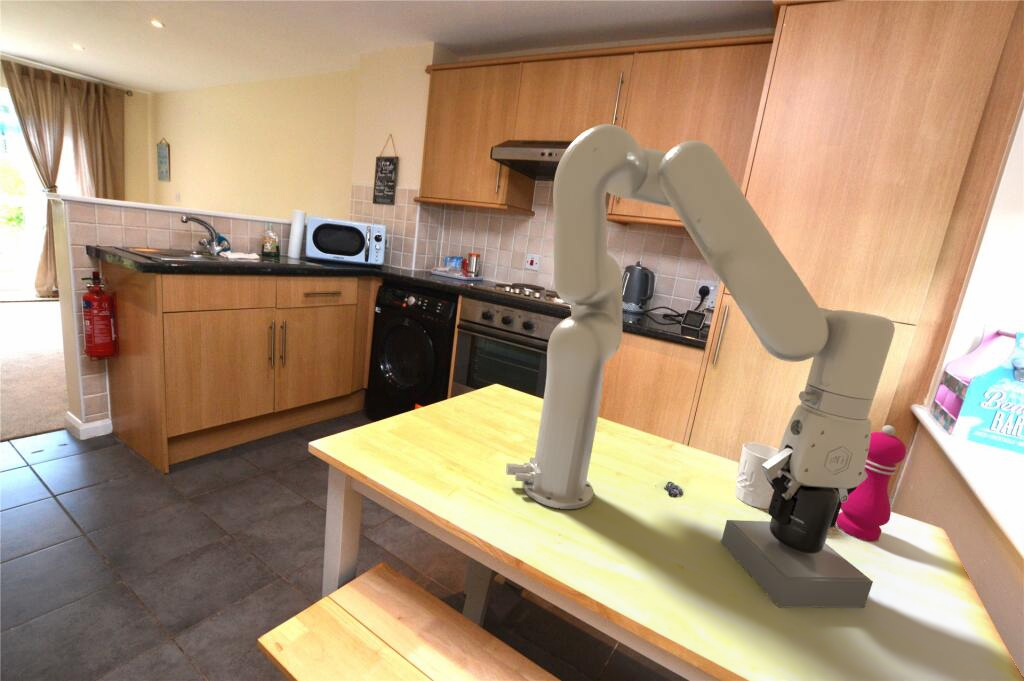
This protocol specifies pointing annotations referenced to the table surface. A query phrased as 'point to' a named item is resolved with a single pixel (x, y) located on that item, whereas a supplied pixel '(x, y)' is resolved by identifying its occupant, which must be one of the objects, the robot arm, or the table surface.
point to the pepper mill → (873, 488)
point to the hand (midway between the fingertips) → (800, 519)
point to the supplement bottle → (807, 519)
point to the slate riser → (795, 569)
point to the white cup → (754, 475)
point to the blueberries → (673, 490)
